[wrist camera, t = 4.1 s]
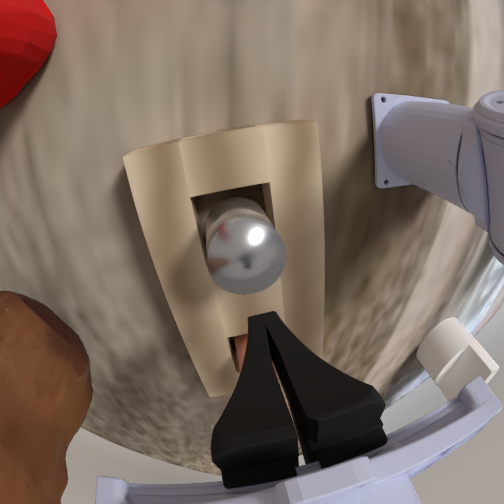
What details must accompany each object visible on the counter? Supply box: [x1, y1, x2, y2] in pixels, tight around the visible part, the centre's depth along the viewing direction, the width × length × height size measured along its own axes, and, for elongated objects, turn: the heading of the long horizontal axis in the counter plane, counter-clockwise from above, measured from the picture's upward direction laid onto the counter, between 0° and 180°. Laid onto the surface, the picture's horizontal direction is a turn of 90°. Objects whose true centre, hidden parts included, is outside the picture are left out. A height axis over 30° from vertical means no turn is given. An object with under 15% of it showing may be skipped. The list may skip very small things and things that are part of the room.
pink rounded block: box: [234, 334, 279, 381], centre depth 24 cm, size 4×4×4 cm
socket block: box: [123, 120, 325, 398], centre depth 22 cm, size 12×24×3 cm, turn 8°
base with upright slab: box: [416, 317, 499, 401], centre depth 30 cm, size 9×9×12 cm
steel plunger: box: [205, 197, 287, 295], centre depth 16 cm, size 4×4×4 cm
